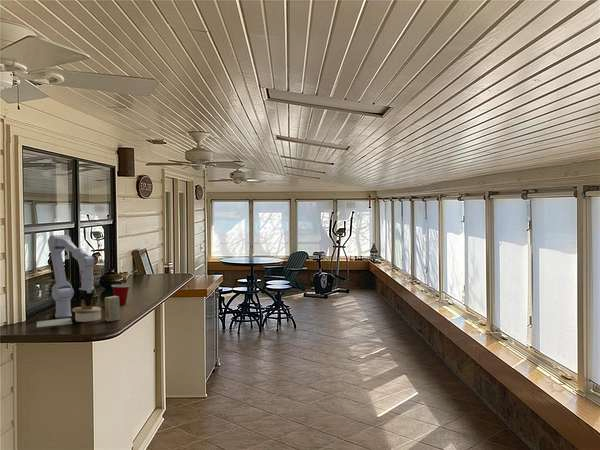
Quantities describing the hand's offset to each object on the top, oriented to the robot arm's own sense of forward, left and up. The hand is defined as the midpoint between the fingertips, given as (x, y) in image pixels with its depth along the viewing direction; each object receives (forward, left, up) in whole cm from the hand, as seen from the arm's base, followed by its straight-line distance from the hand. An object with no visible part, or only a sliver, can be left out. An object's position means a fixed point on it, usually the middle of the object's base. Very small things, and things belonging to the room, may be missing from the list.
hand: (87, 305), depth 273 cm
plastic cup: (-40, +22, -8) cm, 46 cm away
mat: (0, -16, -8) cm, 18 cm away
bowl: (0, 0, -8) cm, 8 cm away
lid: (0, -1, -3) cm, 3 cm away
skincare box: (+8, +11, -8) cm, 16 cm away
